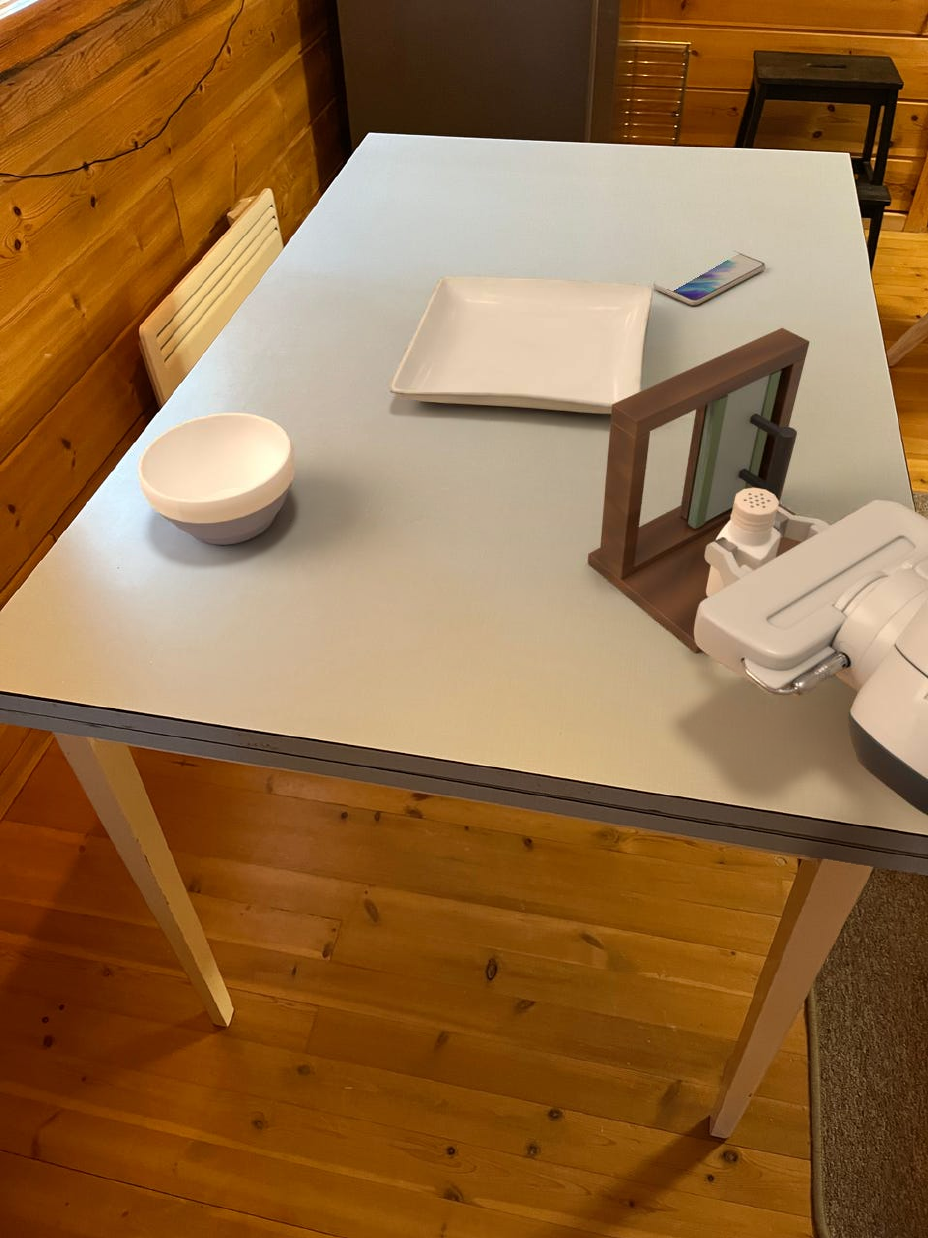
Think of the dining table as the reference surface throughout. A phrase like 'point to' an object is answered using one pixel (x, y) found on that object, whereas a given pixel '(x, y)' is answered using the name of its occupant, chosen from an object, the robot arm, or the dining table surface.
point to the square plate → (527, 344)
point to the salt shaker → (749, 532)
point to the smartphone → (716, 280)
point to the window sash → (739, 449)
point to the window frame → (668, 546)
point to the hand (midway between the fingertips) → (740, 531)
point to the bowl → (219, 475)
